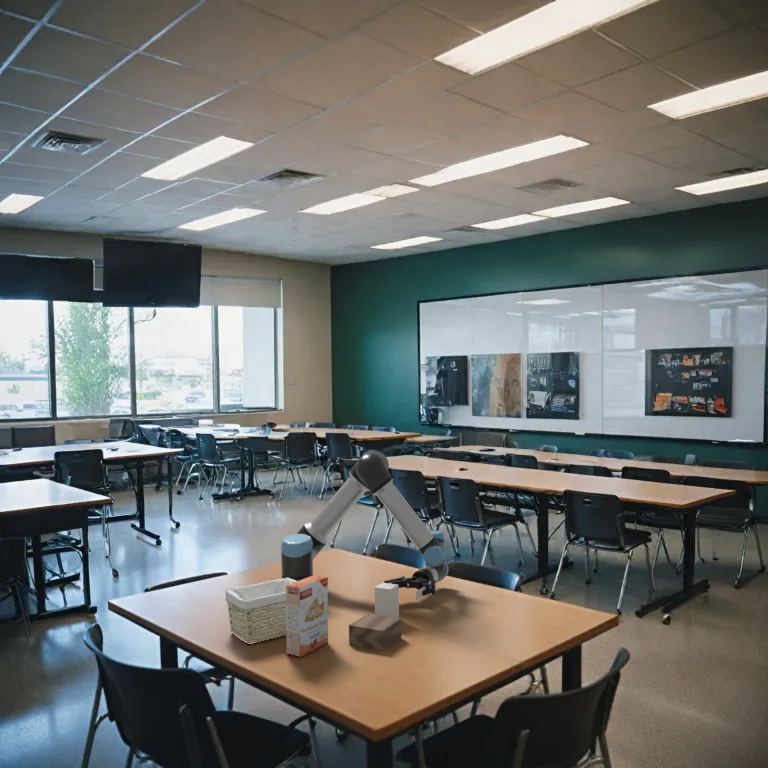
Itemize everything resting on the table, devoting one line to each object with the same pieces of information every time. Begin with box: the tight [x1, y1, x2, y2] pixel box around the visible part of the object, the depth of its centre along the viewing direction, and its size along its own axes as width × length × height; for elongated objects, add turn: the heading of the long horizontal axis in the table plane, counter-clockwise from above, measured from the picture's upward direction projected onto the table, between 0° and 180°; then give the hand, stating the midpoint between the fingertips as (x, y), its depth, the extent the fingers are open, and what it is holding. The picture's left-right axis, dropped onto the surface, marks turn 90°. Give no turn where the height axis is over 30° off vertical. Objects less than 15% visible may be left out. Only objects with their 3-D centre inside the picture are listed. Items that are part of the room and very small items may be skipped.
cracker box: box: [285, 574, 329, 658], centre depth 216 cm, size 14×6×21 cm, turn 148°
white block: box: [374, 582, 400, 619], centre depth 240 cm, size 6×6×12 cm
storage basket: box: [225, 578, 297, 643], centre depth 231 cm, size 24×16×15 cm
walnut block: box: [348, 613, 402, 652], centre depth 221 cm, size 12×12×6 cm
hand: (399, 593), depth 248 cm, fingers open, 13 cm apart
